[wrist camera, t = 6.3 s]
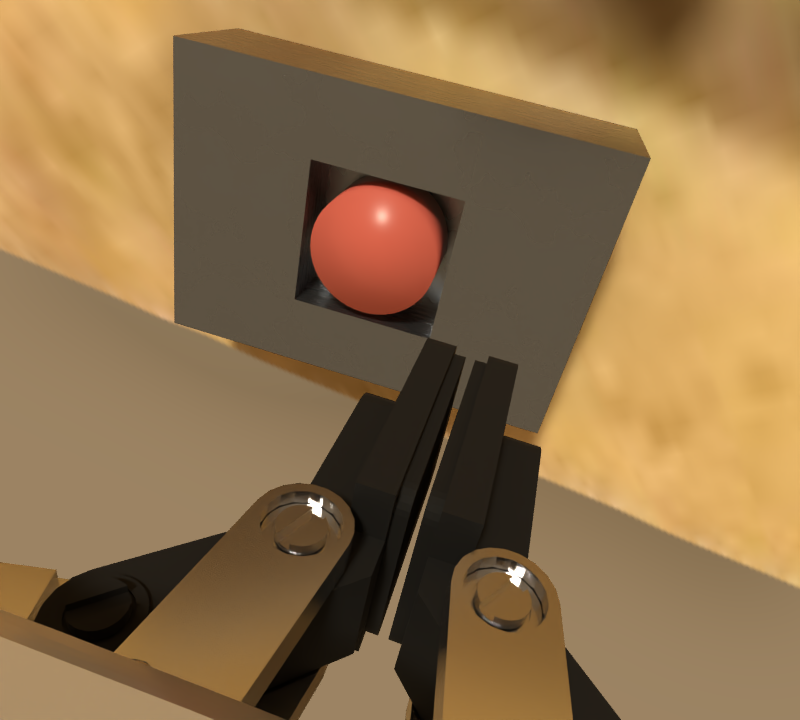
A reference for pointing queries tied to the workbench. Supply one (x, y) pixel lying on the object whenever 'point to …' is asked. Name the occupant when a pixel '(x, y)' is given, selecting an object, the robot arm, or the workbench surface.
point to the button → (379, 245)
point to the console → (402, 163)
